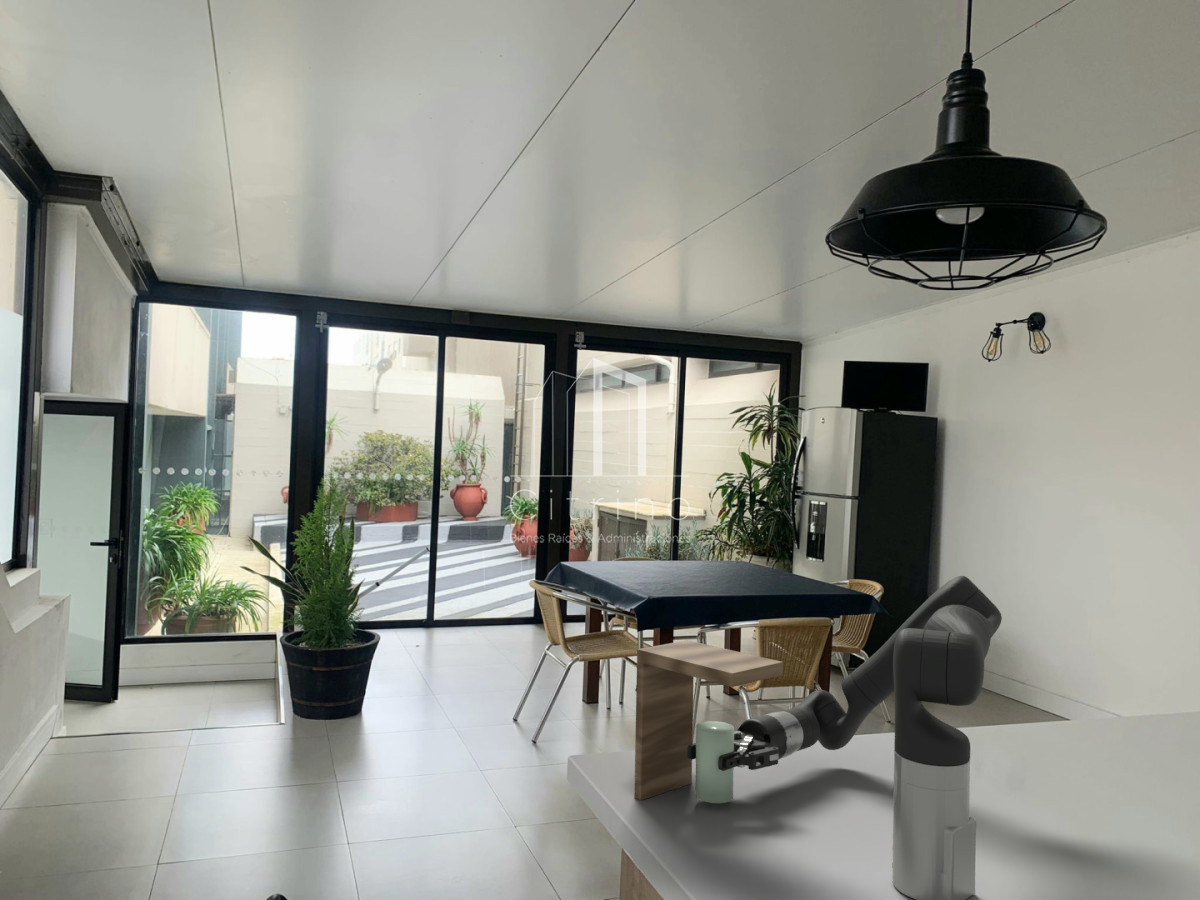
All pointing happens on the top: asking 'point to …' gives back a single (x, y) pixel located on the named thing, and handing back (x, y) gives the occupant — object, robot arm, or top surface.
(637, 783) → the overhanging shelf
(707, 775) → the pillar candle
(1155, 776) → the top surface
